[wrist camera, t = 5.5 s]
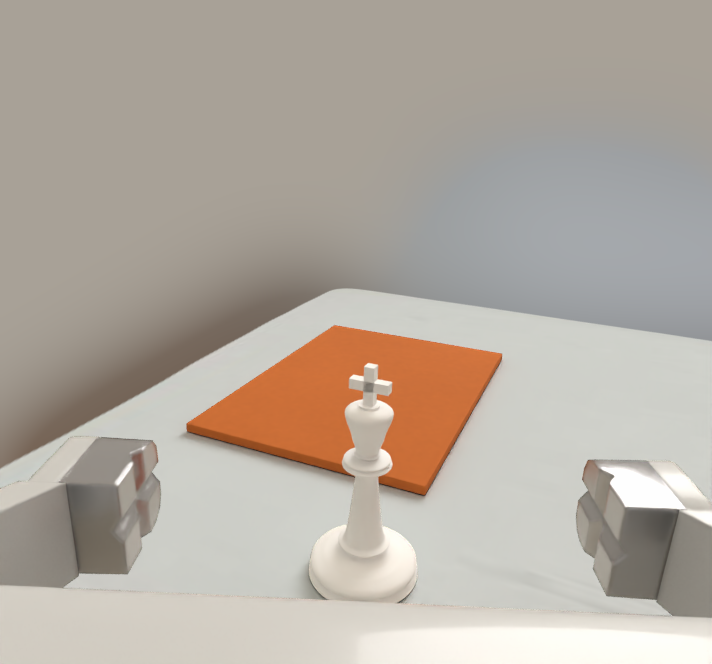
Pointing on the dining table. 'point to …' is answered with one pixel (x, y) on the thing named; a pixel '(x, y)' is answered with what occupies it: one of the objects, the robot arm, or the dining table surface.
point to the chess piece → (365, 513)
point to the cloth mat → (332, 395)
